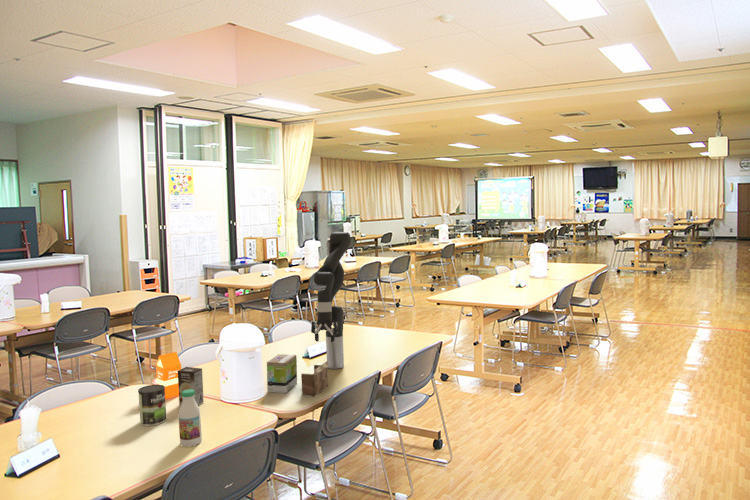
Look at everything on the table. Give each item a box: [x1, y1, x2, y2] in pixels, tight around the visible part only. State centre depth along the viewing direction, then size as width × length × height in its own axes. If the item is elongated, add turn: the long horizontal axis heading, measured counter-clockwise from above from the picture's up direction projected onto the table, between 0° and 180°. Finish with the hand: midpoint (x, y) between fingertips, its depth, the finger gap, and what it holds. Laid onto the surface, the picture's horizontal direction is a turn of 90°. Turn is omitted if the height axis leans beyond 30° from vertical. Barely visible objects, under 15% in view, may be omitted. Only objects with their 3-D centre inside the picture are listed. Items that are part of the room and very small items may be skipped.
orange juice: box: [155, 351, 182, 400], centre depth 257 cm, size 8×9×20 cm
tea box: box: [266, 353, 298, 394], centre depth 263 cm, size 15×10×15 cm, turn 168°
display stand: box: [300, 360, 329, 397], centre depth 257 cm, size 15×7×12 cm, turn 162°
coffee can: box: [137, 384, 167, 427], centre depth 225 cm, size 10×10×14 cm
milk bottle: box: [178, 389, 203, 447], centre depth 202 cm, size 8×8×20 cm
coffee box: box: [178, 366, 205, 406], centre depth 244 cm, size 9×6×16 cm
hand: (324, 341), depth 281 cm, fingers open, 8 cm apart
